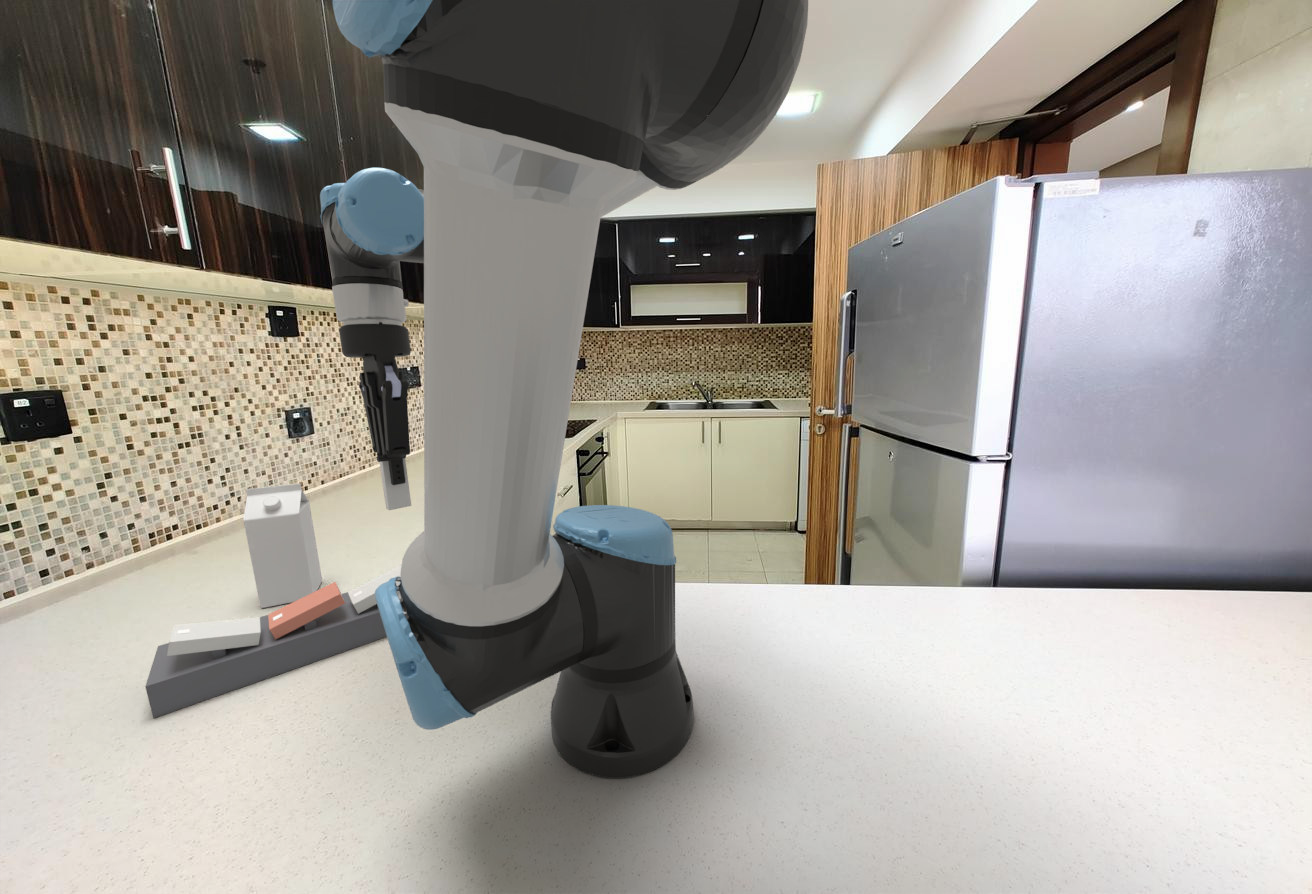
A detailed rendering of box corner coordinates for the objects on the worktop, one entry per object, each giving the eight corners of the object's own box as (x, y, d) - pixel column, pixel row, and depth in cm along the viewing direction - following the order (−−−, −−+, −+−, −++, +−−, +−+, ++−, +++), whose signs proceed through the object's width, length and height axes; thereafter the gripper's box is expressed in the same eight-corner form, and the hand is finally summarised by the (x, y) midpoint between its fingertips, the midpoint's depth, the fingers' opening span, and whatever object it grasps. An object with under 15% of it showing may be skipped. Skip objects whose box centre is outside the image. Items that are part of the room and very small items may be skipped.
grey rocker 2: (416, 582, 70) (412, 572, 70) (358, 613, 66) (352, 604, 65) (408, 571, 74) (404, 562, 73) (352, 600, 69) (347, 591, 69)
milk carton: (273, 590, 82) (253, 484, 79) (322, 581, 85) (305, 478, 81) (260, 609, 76) (238, 495, 72) (314, 599, 79) (294, 488, 75)
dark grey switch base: (477, 605, 76) (474, 575, 75) (153, 718, 53) (143, 678, 52) (456, 583, 83) (453, 556, 82) (165, 674, 60) (156, 638, 59)
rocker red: (345, 603, 64) (339, 593, 64) (275, 639, 60) (269, 629, 59) (340, 590, 68) (334, 581, 68) (273, 623, 64) (267, 614, 63)
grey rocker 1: (258, 644, 59) (260, 631, 59) (166, 656, 54) (169, 641, 54) (257, 628, 63) (259, 616, 62) (171, 637, 57) (174, 624, 57)
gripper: (423, 320, 57) (445, 509, 61) (392, 330, 66) (413, 493, 70) (350, 318, 52) (380, 524, 56) (328, 328, 61) (355, 504, 65)
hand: (398, 506), depth 63 cm, fingers closed
